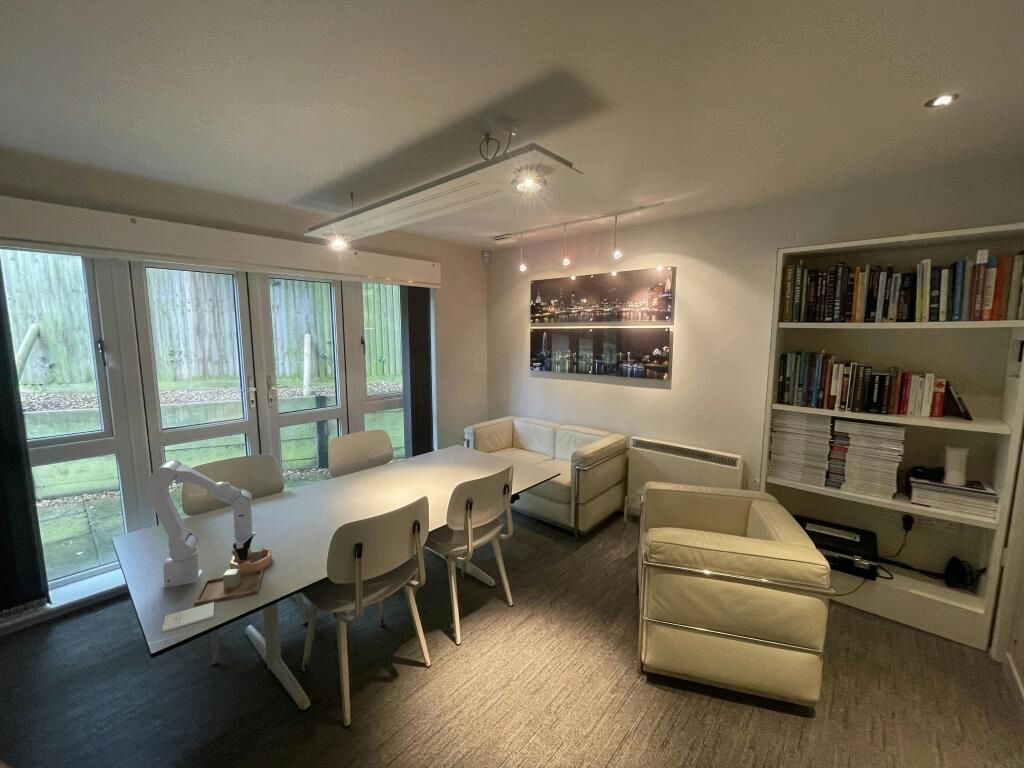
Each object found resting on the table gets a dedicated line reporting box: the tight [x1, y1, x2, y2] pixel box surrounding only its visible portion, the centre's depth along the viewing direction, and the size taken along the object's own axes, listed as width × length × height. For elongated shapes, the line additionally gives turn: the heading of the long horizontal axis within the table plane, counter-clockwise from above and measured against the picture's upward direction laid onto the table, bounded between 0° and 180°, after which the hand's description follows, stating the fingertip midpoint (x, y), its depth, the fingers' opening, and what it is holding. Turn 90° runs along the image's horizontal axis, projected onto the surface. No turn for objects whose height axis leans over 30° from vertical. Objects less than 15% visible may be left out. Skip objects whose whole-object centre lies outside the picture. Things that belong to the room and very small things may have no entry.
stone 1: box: [222, 568, 241, 588], centre depth 143 cm, size 4×4×5 cm
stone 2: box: [231, 547, 251, 562], centre depth 153 cm, size 4×4×5 cm
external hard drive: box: [161, 601, 215, 633], centre depth 127 cm, size 2×8×12 cm
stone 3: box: [250, 546, 265, 563], centre depth 158 cm, size 4×4×5 cm
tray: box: [193, 569, 265, 606], centre depth 142 cm, size 18×14×1 cm
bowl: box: [229, 547, 273, 574], centre depth 156 cm, size 13×13×4 cm
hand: (244, 557), depth 154 cm, fingers closed on stone 2, 3 cm apart
